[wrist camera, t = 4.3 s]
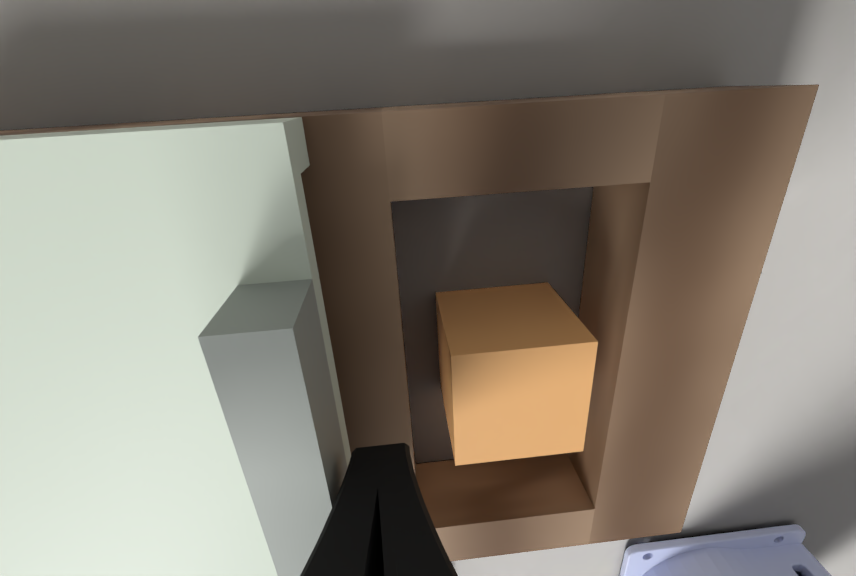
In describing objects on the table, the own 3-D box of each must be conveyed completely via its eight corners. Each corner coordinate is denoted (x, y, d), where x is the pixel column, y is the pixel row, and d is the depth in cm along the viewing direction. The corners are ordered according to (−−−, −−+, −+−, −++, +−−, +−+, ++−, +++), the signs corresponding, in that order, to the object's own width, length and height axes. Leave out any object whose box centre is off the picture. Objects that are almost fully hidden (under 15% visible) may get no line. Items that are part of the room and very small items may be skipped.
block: (547, 281, 15) (598, 341, 11) (540, 373, 17) (583, 451, 13) (435, 291, 15) (451, 356, 11) (440, 383, 16) (455, 465, 13)
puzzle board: (725, 86, 13) (818, 85, 10) (639, 470, 19) (680, 532, 17) (-302, 149, 11) (-527, 167, 8) (-1, 545, 18) (-71, 626, 15)
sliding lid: (301, 116, 9) (250, 132, 6) (378, 575, 16) (376, 710, 12) (-206, 148, 8) (-615, 187, 5) (102, 610, 15) (18, 762, 12)
